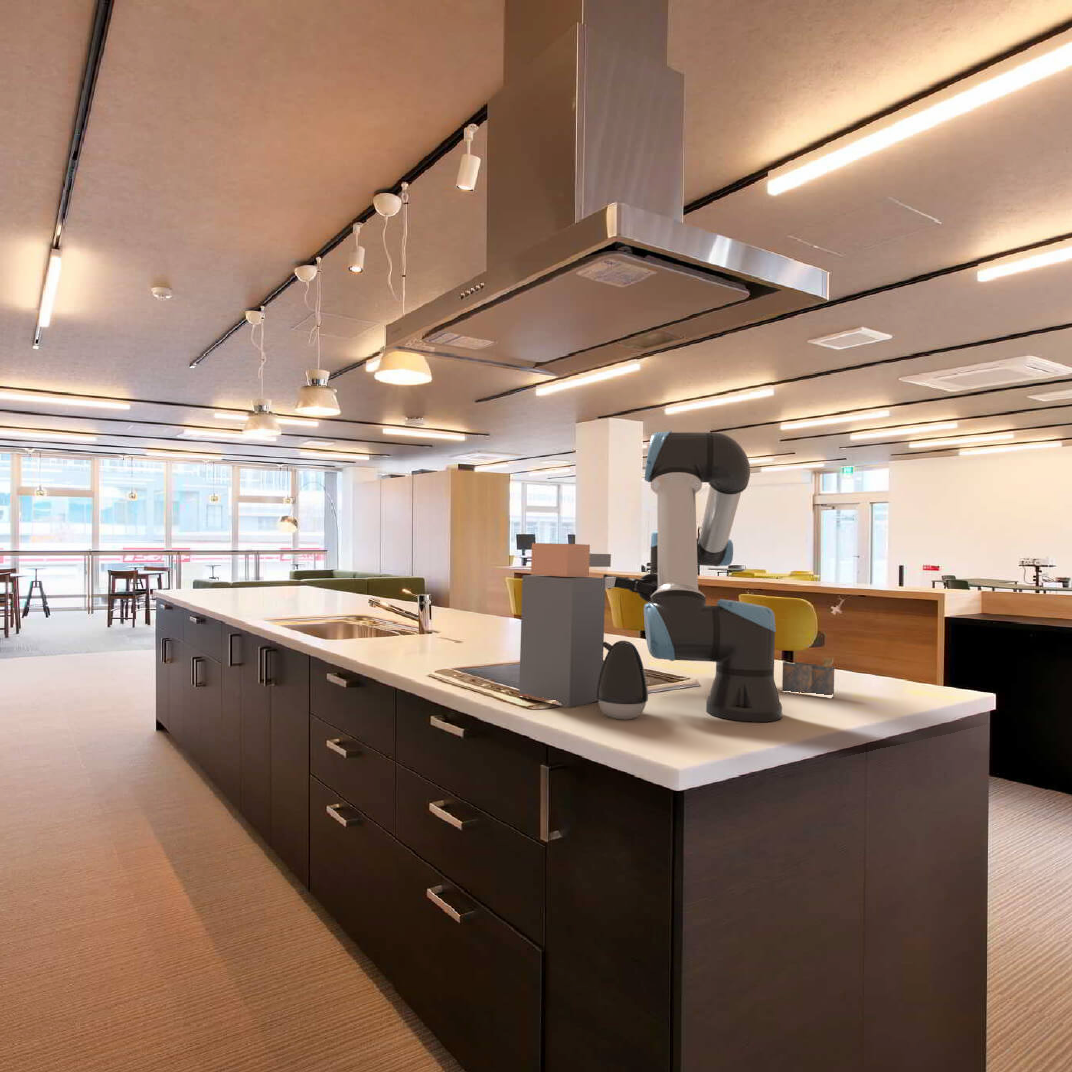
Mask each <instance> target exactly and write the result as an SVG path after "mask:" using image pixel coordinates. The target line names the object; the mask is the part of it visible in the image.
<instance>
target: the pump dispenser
mask: <svg viewBox="0 0 1072 1072" xmlns="http://www.w3.org/2000/svg"><path fill="white" fill-rule="evenodd" d="M602 645H603V647H604V648H605V650H607V654H606V656H605V658H604V659H603V666H602V669H601V672H600V676H599V681H598V687H597V699H598V701H597V702H598V705H599V708H600V709H601V711H602V713H604V714H605V716H607V717H609V718H611V719H616V720H632V719H635V718H637V717H638V716H640V715H641V714H642V713H643V711H644V709H645V708H646V703H647V702H648V700H649V691H648V681H647V676H646V671H645V667H644V664H643V661H642V657H641V655H640V653H639V651H638V649H637V647H636V646H635V645H634V644H633V643H632V642H631V641H628V640H618V641H616V642H614V643H613V644H610V643H609V642H607V641H604V642H603V644H602Z"/></svg>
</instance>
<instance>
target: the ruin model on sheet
mask: <svg viewBox="0 0 1072 1072" xmlns="http://www.w3.org/2000/svg"><path fill="white" fill-rule="evenodd" d="M834 659H835V658H834V657H832V658H826V656H825V657H824V658H823V659H822V661H823V662H822V664H814V663H813V664H812V663H804V662H794V663H792V662H788V661H784V662H783V661H782V678H781V679H782V682H781V683H782V684H781V686H782V687H781V689H782V690H783V691H791V692H799V693H800V692H801V693H816V694H824V695H832V694H833V693H834V694H835V666H833V663H834ZM782 690H781V691H782Z"/></svg>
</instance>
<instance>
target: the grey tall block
mask: <svg viewBox="0 0 1072 1072" xmlns="http://www.w3.org/2000/svg"><path fill="white" fill-rule="evenodd" d="M605 605H606V589H605V578H603V577H597V576H596V577H594V576H586V577H561V576H545V575H522V585H521V611H520V612H521V619H520V644H519V645H520V649H519V654H520V655H519V683H518V684H519V685H518V689H519V690H518V695H519V694H529V695H533V696H537V697H544V698H547V699H550V700H556V701H558V702H559V703H561V704H562V706H561V707H563V706H565V707H564V708H568V709H570V708H575V707H578V706H583V705H587V704H591V703H594V701H595V702H597V701H596V700H598V699H597V687H598V681H599V676H600V672H601V669H602V666H603V663H604V648H605V647H603V645H602V644H603V642H605V641H604V639H605V610H606V609H605V608H606V607H605Z"/></svg>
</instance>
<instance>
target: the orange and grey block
mask: <svg viewBox="0 0 1072 1072" xmlns="http://www.w3.org/2000/svg"><path fill="white" fill-rule="evenodd" d="M590 547H591V546H590V544H583V543H582V544H581V543H553V542H552V543H542V542H531V560H530V561H531V562H530V576H533V575H545V576H561V577H590V568H594V567H595V568H609V567H610V568H611V563H612V562H611V559H612V554H610V553H591V552H590Z"/></svg>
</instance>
